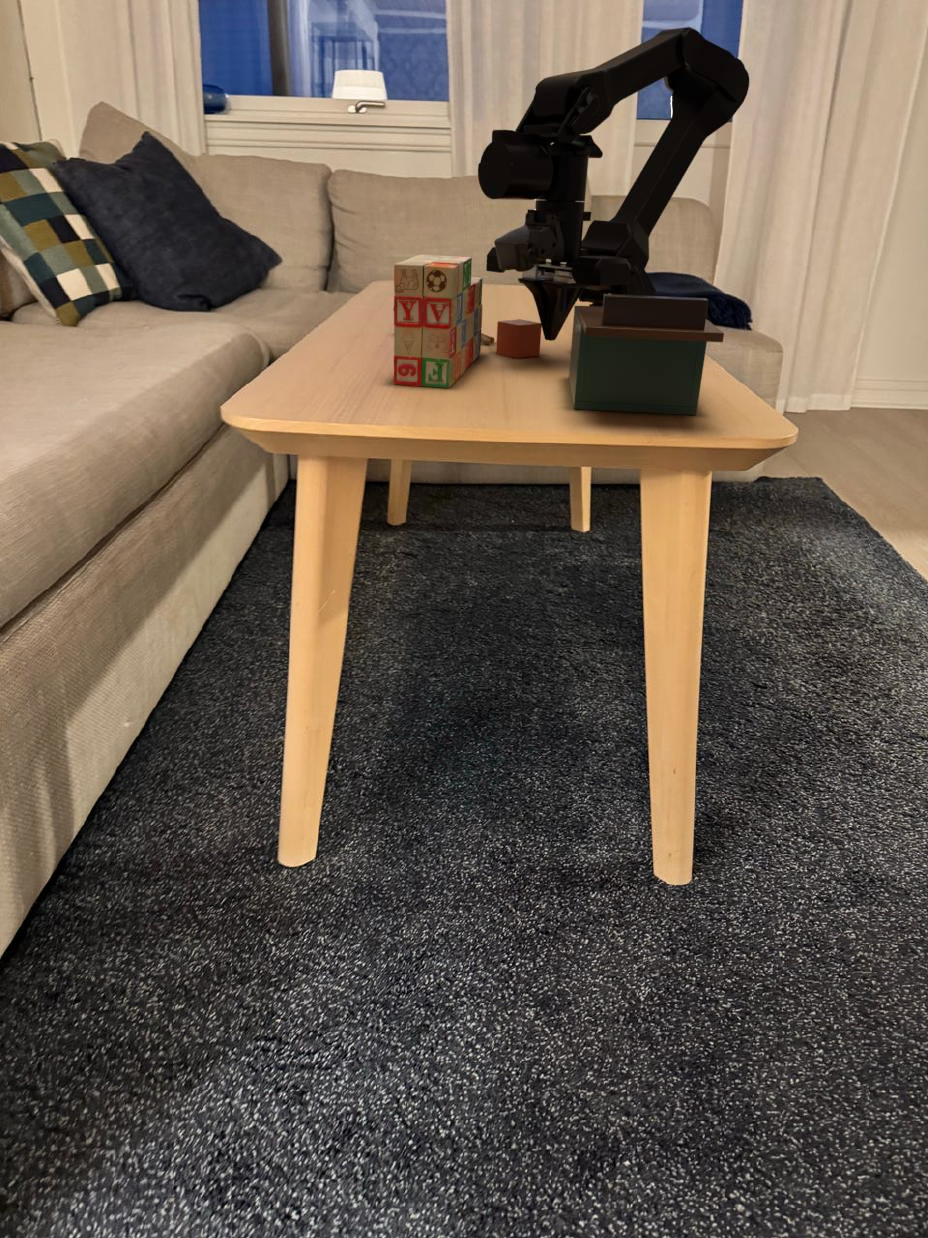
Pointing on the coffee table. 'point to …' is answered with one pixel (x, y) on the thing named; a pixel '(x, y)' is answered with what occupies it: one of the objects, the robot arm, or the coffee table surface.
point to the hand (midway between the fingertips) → (550, 340)
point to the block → (518, 338)
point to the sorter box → (635, 373)
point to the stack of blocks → (435, 320)
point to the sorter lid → (650, 318)
